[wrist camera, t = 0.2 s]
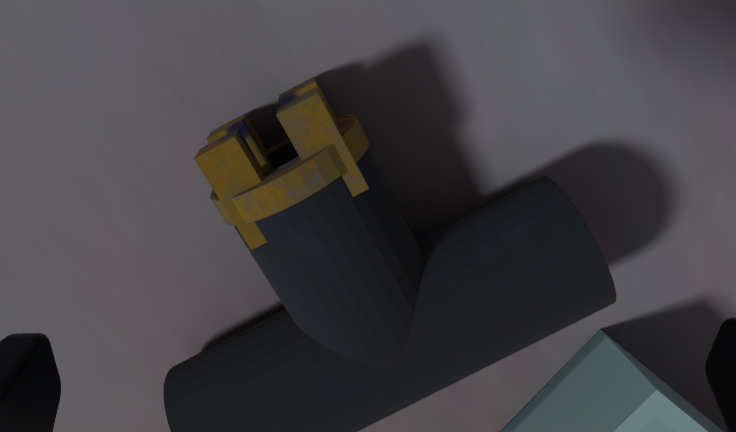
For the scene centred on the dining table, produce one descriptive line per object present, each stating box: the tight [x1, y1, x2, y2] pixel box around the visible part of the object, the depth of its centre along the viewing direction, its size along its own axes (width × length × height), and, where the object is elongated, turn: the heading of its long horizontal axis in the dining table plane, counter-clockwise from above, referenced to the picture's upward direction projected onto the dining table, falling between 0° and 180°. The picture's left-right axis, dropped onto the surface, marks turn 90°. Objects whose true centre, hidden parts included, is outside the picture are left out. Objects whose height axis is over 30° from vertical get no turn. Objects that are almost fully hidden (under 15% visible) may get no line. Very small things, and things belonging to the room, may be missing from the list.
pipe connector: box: [164, 77, 616, 432], centre depth 23 cm, size 12×5×15 cm
